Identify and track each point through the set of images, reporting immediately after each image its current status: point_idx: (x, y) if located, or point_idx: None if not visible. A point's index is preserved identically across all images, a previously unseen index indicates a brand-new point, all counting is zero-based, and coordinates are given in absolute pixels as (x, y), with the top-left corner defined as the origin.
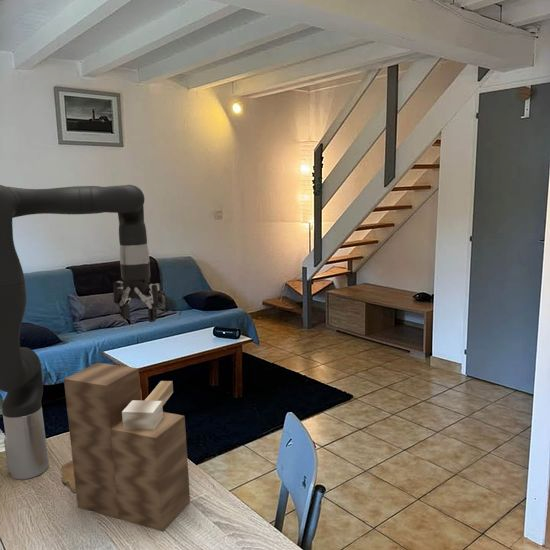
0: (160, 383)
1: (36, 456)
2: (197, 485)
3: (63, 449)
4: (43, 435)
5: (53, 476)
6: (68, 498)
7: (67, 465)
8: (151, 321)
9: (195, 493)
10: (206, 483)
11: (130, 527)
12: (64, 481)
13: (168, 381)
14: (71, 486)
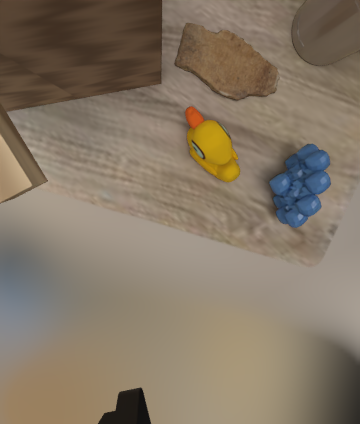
0: (13, 166)
1: (309, 10)
2: None
3: (327, 115)
4: (332, 24)
5: (265, 41)
6: (182, 8)
7: (268, 74)
8: (119, 396)
9: None
10: None
11: None
12: (224, 30)
13: (5, 195)
14: (199, 26)
